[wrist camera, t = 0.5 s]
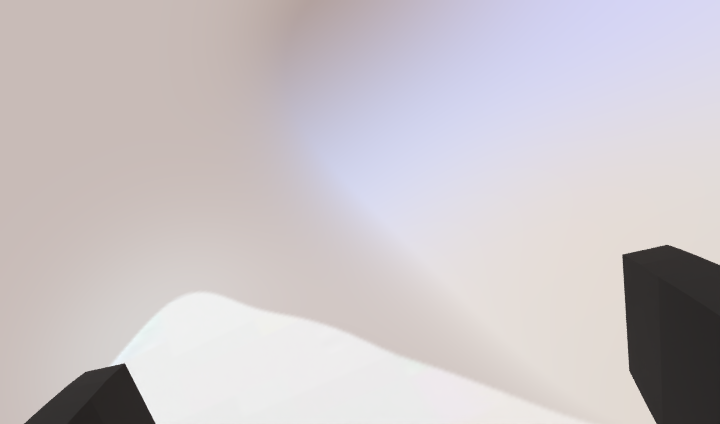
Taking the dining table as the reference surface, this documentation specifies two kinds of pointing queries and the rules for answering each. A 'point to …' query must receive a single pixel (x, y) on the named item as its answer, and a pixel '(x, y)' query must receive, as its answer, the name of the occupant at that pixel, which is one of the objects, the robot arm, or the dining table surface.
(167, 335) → the dining table surface
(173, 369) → the dining table surface
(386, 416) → the dining table surface
